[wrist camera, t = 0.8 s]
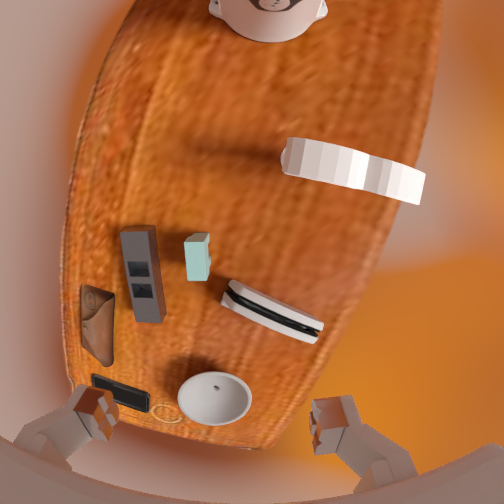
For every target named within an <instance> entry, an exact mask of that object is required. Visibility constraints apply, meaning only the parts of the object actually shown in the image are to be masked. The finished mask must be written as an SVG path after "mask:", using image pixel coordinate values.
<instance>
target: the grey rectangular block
mask: <svg viewBox="0 0 504 504" xmlns="http://www.w3.org/2000/svg"><path fill="white" fill-rule="evenodd" d="M120 238H121V245H122V252H123V258H124V264H125V270H126V276H127V281H128V286H129V291H130V296H131V301H132V306H133V311H134V315H135V319H136V322H148V323H162V321H163V319H164V317H165V315H166V313H167V311H166V305H165V299H164V293H163V286H162V279H161V272H160V265H159V257H158V248H157V239H156V230H155V225H154V226H130V227H127V228H126V229H124V230H123V231H121V232H120Z"/></svg>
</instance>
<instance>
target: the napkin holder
mask: <svg viewBox="0 0 504 504" xmlns="http://www.w3.org/2000/svg"><path fill="white" fill-rule="evenodd" d="M228 285H229V287H228V288H229V289H230V290H231V291H232V292H233V293H232V292H230V291H228V290H227V291H226V292H224V294H223V298H222V300H221V302H220V304H221V305H222V306H225V307H227V308H229V309H231V310H233V311H235V312H237V313H239V314H241V315H243V316H245V317H247V318H249V319H251V320H253V321H255V322H257V323H260V324H262V325H264V326H266V327H268V328H271V329H273V330H275V331H278V332H280V333H283V334H285V335H288V336H291V337H293V338H296V339H299V340H302V341H305V342H308V343H311V344H314V343H315V342H316V340H317V339H318V337H317V336H318V334H317V333H316V332H320V330H321V331H322V329H323V325H324V323H323V322H322V321H320V320H319V319H318V318H316V317H315V316H313V315H310V314H308V313H306V312H304V311H301V310H299V309H297V308H295V307H292V306H290V305H288V304H286V303H284V302H281V301H279V300H277V299H275V298H273V297H270V296H268V295H266V294H264V293H262V292H259V291H257V290H255V289H253V288H251V287H249V286H247V285H244V284H242V283H240V282H238V281H236V280H234V279H232V280H231V281H230V282H229V283H228ZM262 309H263V310H262ZM264 310H265V311H264ZM267 311H268V312H267ZM269 312H270V313H269ZM271 313H272V314H271ZM315 331H316V332H315Z"/></svg>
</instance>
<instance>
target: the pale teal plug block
mask: <svg viewBox="0 0 504 504" xmlns="http://www.w3.org/2000/svg"><path fill="white" fill-rule="evenodd" d="M208 243H209V233H193V235H192V236H188V238H187V239H186V240H185V242H184V248H185V259H186V269H187V279H188V281H207V279H208V276H209V273H210V271H209V267H210V265H211V259H210V256H208Z"/></svg>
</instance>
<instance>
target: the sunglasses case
mask: <svg viewBox="0 0 504 504" xmlns="http://www.w3.org/2000/svg"><path fill="white" fill-rule="evenodd" d="M114 308H115V295H114V293H111V292H109V291H105V290H102V289H99V288H96V287H93V286H89V285H84V284H83V283H82V286H81V326H82V347H83V348H84V349H86V350H87V351H89V352H90V353H91V354H92V355H93V356H94V357H95V358H96V359H98V360H99V361H100V362H101V364H102V365H103V366H104V367H110V366H111V365H112V364H113V361H114V355H113V326H114Z"/></svg>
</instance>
